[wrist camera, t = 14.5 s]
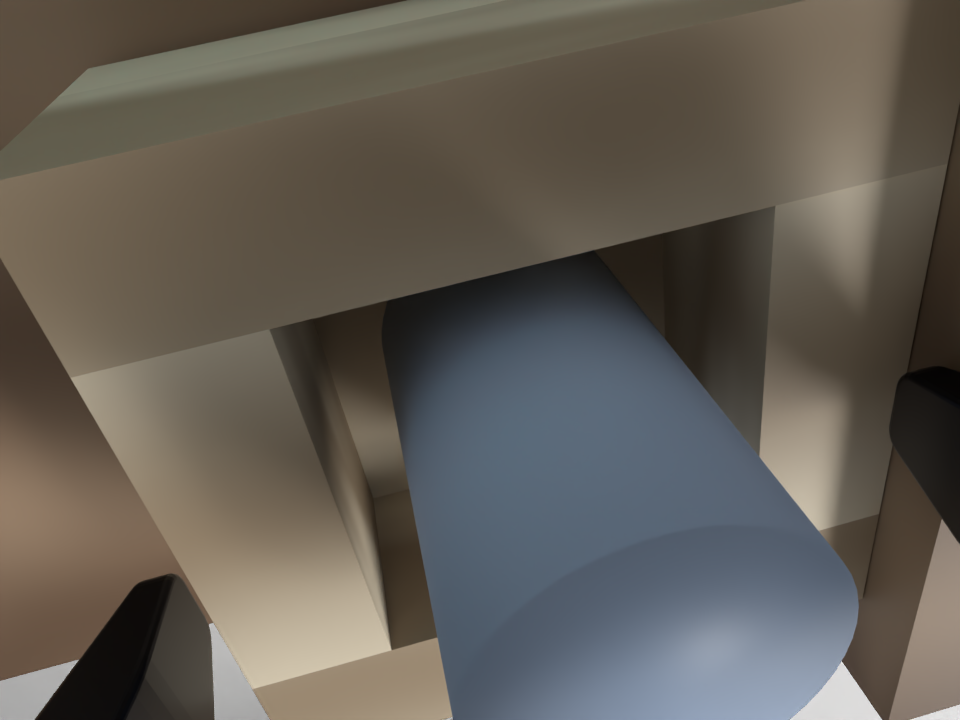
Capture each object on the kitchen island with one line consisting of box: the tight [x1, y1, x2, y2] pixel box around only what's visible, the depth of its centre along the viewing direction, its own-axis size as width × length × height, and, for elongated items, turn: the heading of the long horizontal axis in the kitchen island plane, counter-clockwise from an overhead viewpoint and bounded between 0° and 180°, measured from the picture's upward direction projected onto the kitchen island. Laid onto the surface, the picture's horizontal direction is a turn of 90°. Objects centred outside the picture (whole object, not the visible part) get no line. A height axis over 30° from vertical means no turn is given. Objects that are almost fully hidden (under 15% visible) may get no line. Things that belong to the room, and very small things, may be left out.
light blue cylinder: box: [382, 250, 859, 720], centre depth 9 cm, size 4×4×6 cm
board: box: [0, 0, 960, 720], centre depth 11 cm, size 13×24×7 cm, turn 99°
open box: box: [0, 0, 960, 720], centre depth 11 cm, size 9×9×4 cm
